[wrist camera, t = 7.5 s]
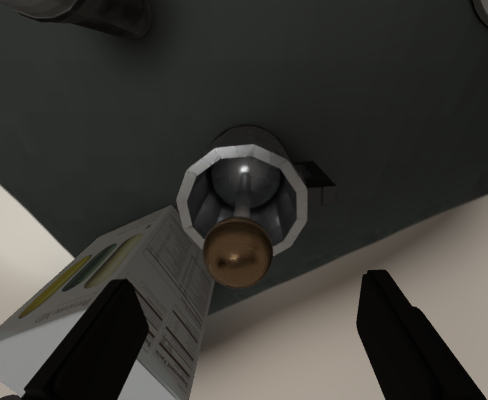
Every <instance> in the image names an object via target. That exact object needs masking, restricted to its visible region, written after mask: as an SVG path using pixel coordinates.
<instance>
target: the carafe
mask: <svg viewBox="0 0 488 400" xmlns="http://www.w3.org/2000/svg"><path fill="white" fill-rule="evenodd" d="M245 156H253V157H255V158H257V159H260V160H262V161H264V162H266V163H268V164H271V165H273V166H275V167H277V168H279V169H280V182H279V186H278V188H277V191H276V192H275V194H274V195H273V196H272V198H270V199H269V200H268V201H267V202H265V203H264V204H262V205H260V206H257V207H253V208H250V219H252V220H254V221H256V222H258V223H259V224H260V225H262V227H263V228H264V229H265V230H266V231H267V233H268V234H269V236H270V239H271V242H272V245H273V256H275V255H276V254H278V253H280V252H282V251H284V250H285V249H287V248H289V247H290V246H291V245H292V244H293V242H294V241H295V239H296V238H297V236H298V235H299V233H300V231H301V230H302V228H303V227H304V225H305V224H306V222H307V206H317V205H330V204H335V202H336V185H335V184H334V183H333V182H332V181H331V180H330V179H329V178H328V176H327V175H326V174H325V173H324V172H323V171H322V170H321V169H320V168H319V167H318V166H317V165H316V164H315V163H314V162H313V161H309V162H298V163H292V162H291V160H290V159H289V157H288V155H287V152H286V150H285V148H284V146H283V144H282V143H281V142H280V140H279V139H278V138H277V137H276V136H275V135H274V134H273V133H271V132H270V131H268V130H266V129H264V128H262V127H259V126H255V125H239V126H235V127H231V128H229V129H227V130H225V131H224V132H222V133H221V134H220V135H219V136H217V137H216V138H215V140H214V141H213V142H212V143H211V144H210V146H209V147H208V148H207V149H206V150H205V151H204V152H203V153H202V154H201V155H200V156H199V157H198V158H197V159H196V160H195V162H194V163H193V164H192V165H191V166H190V167H189V168H188V169H187V171H186V174H185V176H184V179H183V182H182V185H181V188H180V190H179V193H178V196H177V199H176V201H177V206H178V210H179V214H180V218H181V222H182V226H183V229H184V231H185V232H186V233H187V234H188V235H189V236H190V237H191V239H192V240H193V241H194V242H195V243H196V244H197V245H198V246H199V247H200V248H201V249H202V250H203V244H204V241H205V238H206V236H207V234H208V232H209V231H210V230H211V228H212V227H213V226H214V225H216V224H217V223H218V222H220V221H221V220H223V219H226V218H229V217H233V216H234V210H235V206H232V205H230V204H228V203H227V202H225V201H224V200H223V199H222V198H221V197H220V196H219V195H218V194H217V192H216V190H215V189H214V186H213V183H212V167H213V164H214V163H215V162H217V161H218V160H219V159H224V158H235V157H245ZM302 179H305V181H306V183H307V184H304V183H303V181H302Z"/></svg>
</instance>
